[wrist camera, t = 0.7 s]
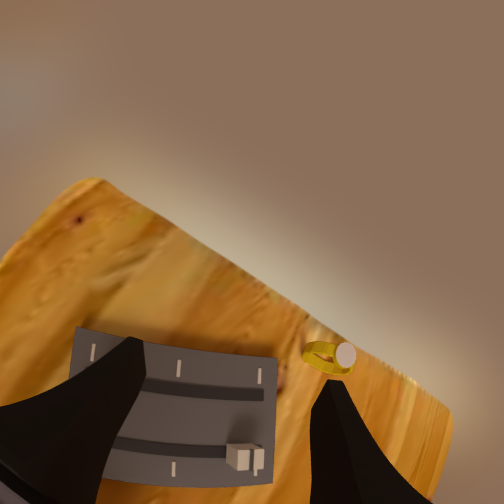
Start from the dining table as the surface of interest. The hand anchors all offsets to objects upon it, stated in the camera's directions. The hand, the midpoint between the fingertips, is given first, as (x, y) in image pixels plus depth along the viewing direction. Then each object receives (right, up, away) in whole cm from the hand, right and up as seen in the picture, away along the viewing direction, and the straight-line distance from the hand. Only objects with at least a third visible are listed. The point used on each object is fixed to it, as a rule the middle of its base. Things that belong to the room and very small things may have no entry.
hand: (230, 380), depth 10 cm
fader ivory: (0, -14, +12) cm, 18 cm away
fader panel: (-7, -11, +13) cm, 18 cm away
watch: (+8, -8, +22) cm, 25 cm away
